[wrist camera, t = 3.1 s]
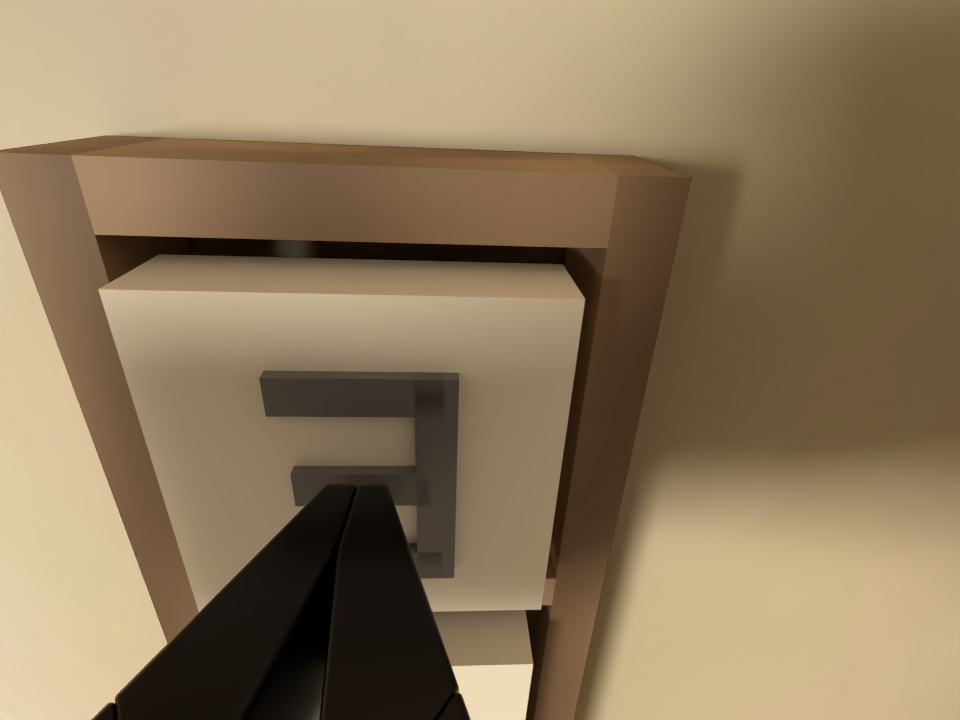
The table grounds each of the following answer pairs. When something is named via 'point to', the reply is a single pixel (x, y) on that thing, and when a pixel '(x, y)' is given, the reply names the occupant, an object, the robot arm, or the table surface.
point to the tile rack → (363, 218)
